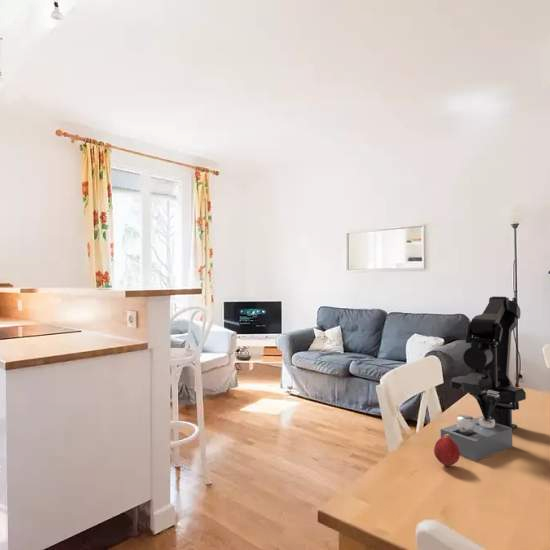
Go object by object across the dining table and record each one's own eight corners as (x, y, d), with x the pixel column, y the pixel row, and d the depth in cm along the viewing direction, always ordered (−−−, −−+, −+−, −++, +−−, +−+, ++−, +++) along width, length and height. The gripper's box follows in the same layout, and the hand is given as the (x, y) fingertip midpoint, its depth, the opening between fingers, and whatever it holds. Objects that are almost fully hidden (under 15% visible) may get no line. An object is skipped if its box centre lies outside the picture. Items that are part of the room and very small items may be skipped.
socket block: (477, 434, 118) (477, 417, 118) (512, 446, 110) (511, 427, 110) (440, 447, 110) (440, 429, 110) (475, 461, 101) (475, 441, 101)
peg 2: (484, 432, 115) (484, 415, 115) (498, 436, 112) (497, 419, 112) (476, 434, 113) (475, 418, 113) (490, 439, 110) (489, 422, 110)
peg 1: (462, 431, 110) (462, 413, 110) (476, 435, 106) (476, 417, 107) (453, 434, 108) (453, 416, 108) (467, 438, 104) (467, 420, 104)
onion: (433, 469, 97) (432, 436, 97) (435, 459, 102) (435, 428, 102) (459, 474, 94) (458, 440, 95) (460, 464, 99) (460, 431, 100)
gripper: (438, 361, 116) (439, 415, 116) (502, 373, 101) (504, 435, 100) (461, 356, 122) (462, 408, 122) (526, 367, 106) (527, 426, 106)
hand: (486, 418), depth 112 cm, fingers closed, pressing on peg 2
